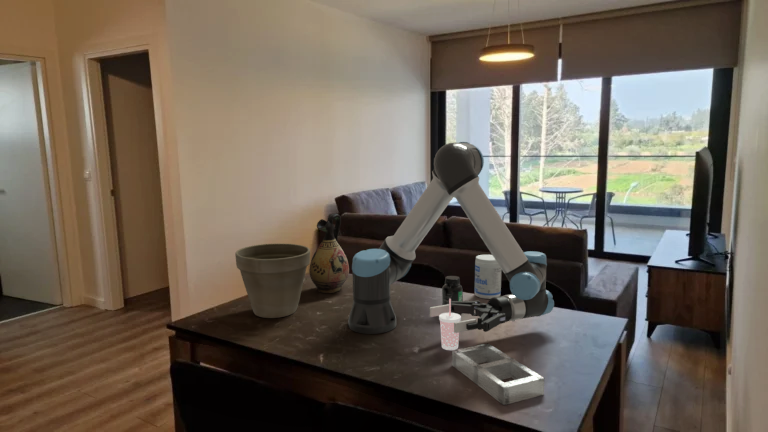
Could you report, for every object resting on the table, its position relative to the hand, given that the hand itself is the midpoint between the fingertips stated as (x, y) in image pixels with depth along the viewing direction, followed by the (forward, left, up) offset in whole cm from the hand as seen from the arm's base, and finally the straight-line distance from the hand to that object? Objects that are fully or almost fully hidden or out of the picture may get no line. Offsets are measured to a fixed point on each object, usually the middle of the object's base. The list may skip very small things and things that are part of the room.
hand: (441, 319), depth 140 cm
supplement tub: (-35, +39, -9) cm, 53 cm away
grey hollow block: (+21, +3, -8) cm, 23 cm away
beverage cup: (0, +3, -9) cm, 9 cm away
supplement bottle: (-25, +18, -9) cm, 32 cm away
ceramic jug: (-69, -11, -9) cm, 70 cm away
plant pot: (-52, -36, -9) cm, 64 cm away
